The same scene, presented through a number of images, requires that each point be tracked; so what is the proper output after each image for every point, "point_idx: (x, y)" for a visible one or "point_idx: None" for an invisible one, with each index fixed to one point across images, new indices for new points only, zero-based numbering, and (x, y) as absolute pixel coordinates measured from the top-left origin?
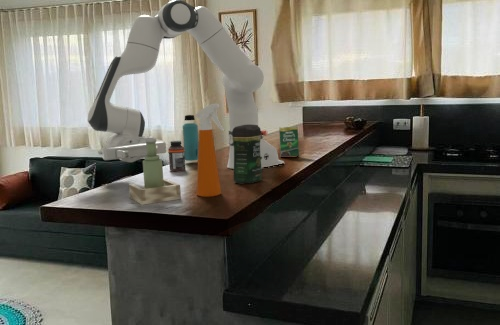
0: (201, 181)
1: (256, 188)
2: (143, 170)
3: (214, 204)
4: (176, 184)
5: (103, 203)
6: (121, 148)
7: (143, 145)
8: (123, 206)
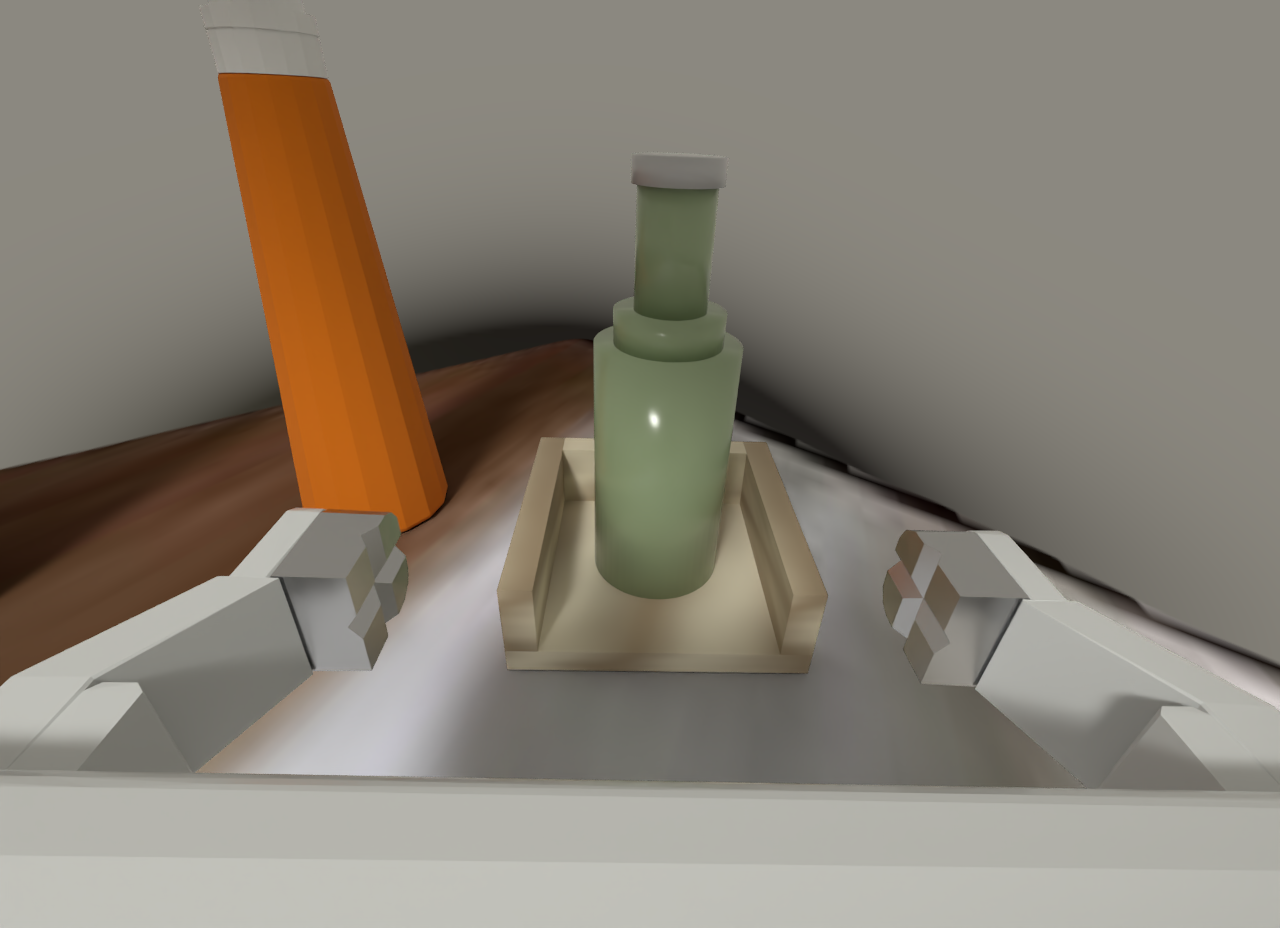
0: (427, 417)
1: (117, 479)
2: (734, 413)
3: (502, 405)
4: (549, 450)
5: None
6: (1226, 797)
7: (392, 776)
8: (847, 525)
